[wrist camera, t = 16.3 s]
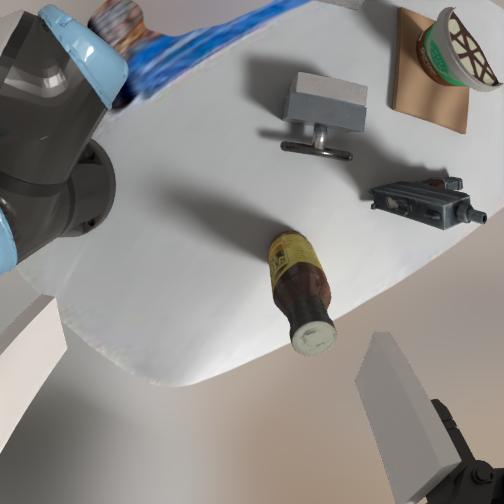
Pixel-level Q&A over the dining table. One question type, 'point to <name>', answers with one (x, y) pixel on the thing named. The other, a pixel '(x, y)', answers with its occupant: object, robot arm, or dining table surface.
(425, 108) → the light brown board
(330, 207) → the dining table surface
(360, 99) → the grey blocks
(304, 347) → the sauce bottle
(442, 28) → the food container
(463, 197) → the gun
